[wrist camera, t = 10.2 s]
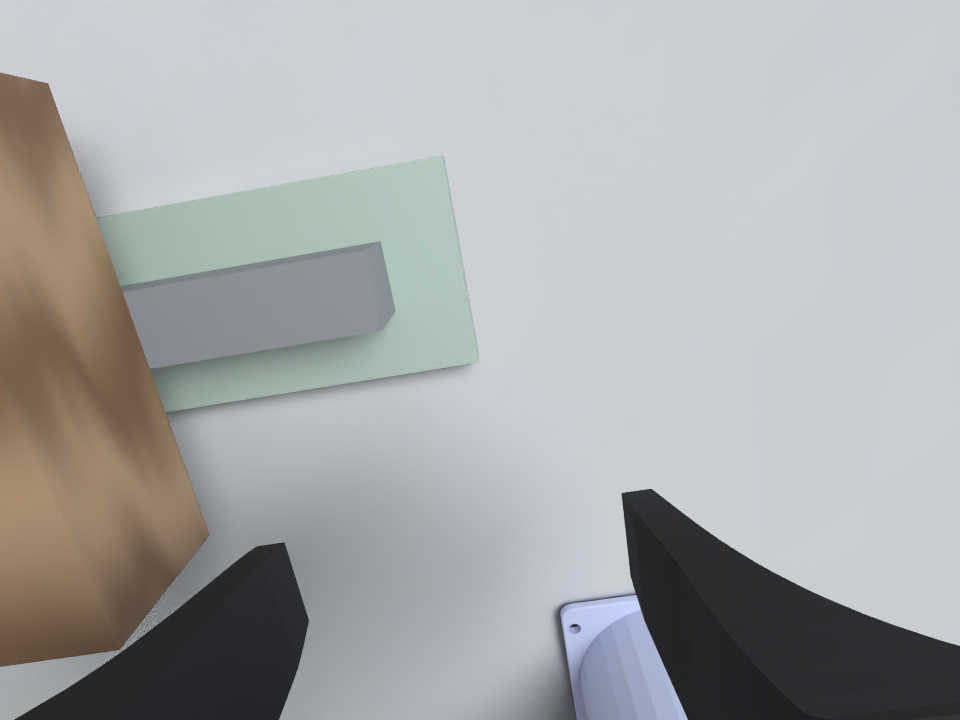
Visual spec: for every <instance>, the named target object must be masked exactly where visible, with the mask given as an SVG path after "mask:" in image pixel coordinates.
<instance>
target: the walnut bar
mask: <svg viewBox="0 0 960 720" xmlns="http://www.w3.org/2000/svg"><path fill="white" fill-rule="evenodd" d="M208 536H209V533H208V530H207V527H206V525H205V522H204V519H203V516H202V513H201V511H200V508H199V505H198V502H197V499H196V497H195V494H194V491H193V488H192V485H191V483H190V480H189V477H188V474H187V471H186V469H185V466H184V463H183V460H182V457H181V455H180V452H179V449H178V446H177V443H176V441H175V438H174V435H173V432H172V429H171V427H170V424H169V421H168V418H167V415H166V413H165V410H164V407H163V404H162V401H161V399H160V396H159V393H158V390H157V387H156V385H155V382H154V379H153V376H152V373H151V371H150V368H149V365H148V362H147V359H146V357H145V354H144V351H143V348H142V345H141V343H140V340H139V337H138V334H137V331H136V329H135V326H134V323H133V320H132V317H131V315H130V312H129V309H128V306H127V303H126V301H125V298H124V295H123V292H122V289H121V286H120V284H119V281H118V278H117V275H116V272H115V270H114V267H113V264H112V261H111V258H110V256H109V253H108V250H107V247H106V244H105V242H104V239H103V236H102V233H101V230H100V228H99V225H98V222H97V219H96V216H95V214H94V211H93V208H92V205H91V202H90V200H89V197H88V194H87V191H86V188H85V186H84V183H83V180H82V177H81V174H80V172H79V169H78V166H77V163H76V160H75V158H74V155H73V152H72V149H71V146H70V144H69V141H68V138H67V135H66V132H65V130H64V127H63V124H62V121H61V118H60V116H59V113H58V110H57V107H56V104H55V102H54V99H53V96H52V93H51V90H50V88H49V85H48V83H44V82H39V81H35V80H30V79H26V78H21V77H17V76H13V75H8V74H4V73H0V667H2V666H9V665H16V664H23V663H30V662H37V661H44V660H51V659H59V658H66V657H73V656H80V655H87V654H94V653H101V652H108V651H115V650H120V649H121V647H122V646H123V645H124V644H125V642H126V641H127V640H128V638H129V637H130V636H131V635H132V633H133V632H134V631H135V629H136V628H137V627H138V626H139V624H140V623H141V622H142V620H143V619H144V618H145V617H146V615H147V614H148V613H149V611H150V610H151V609H152V608H153V606H154V605H155V604H156V602H157V601H158V600H159V599H160V597H161V596H162V595H163V593H164V592H165V591H166V590H167V588H168V587H169V586H170V585H171V583H172V582H173V581H174V579H175V578H176V577H177V576H178V574H179V573H180V572H181V570H182V569H183V568H184V567H185V565H186V564H187V563H188V561H189V560H190V559H191V558H192V556H193V555H194V554H195V552H196V551H197V550H198V549H199V547H200V546H201V545H202V543H203V542H204V541H205V540H206V538H207V537H208Z"/></svg>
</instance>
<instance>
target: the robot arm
mask: <svg viewBox="0 0 960 720" xmlns="http://www.w3.org/2000/svg"><path fill="white" fill-rule="evenodd" d="M622 501H623V510H624V519H625V528H626V538H627V547H628V556H629V565H630V574H631V579H632V582H633V585H634V589H635V592H636V595H632V596H625V597H617V598H610V599H603V600H595V601H588V602H580V603H573V604H568V605H566V606H564V607H563V608H562V610H561V614H560V616H561V622H562V628H563V635H564V641H565V648H566V654H567V660H568V667H569V673H570V680H571V686H572V693H573V699H574V705H575V712H576V718H577V720H960V646H958V645H955V644H951V643H947V642H944V641H940V640H937V639H934V638H931V637H928V636H925V635H922V634H919V633H916V632H913V631H910V630H907V629H904V628H901V627H898V626H895V625H892V624H889V623H886V622H884V621H881V620H878V619H876V618H873V617H870V616H868V615H865V614H862V613H860V612H858V611H855V610H853V609H850V608H848V607H846V606H843V605H841V604H838V603H836V602H834V601H831V600H829V599H826V598H824V597H822V596H820V595H818V594H815V593H813V592H811V591H809V590H807V589H805V588H803V587H801V586H799V585H797V584H795V583H793V582H791V581H789V580H787V579H785V578H783V577H781V576H779V575H777V574H775V573H773V572H772V571H770V570H768V569H766V568H764V567H763V566H761V565H759V564H757V563H756V562H754V561H752V560H751V559H749V558H747V557H746V556H744V555H743V554H741V553H739V552H738V551H736V550H734V549H733V548H731V547H730V546H728V545H727V544H725V543H724V542H722V541H721V540H719V539H718V538H716V537H715V536H713V535H712V534H710V533H709V532H708V531H706V530H705V529H703V528H702V527H701V526H699V525H698V524H697V523H695V522H694V521H692V520H691V519H690V518H689V517H687V516H686V515H685V514H683V513H682V512H681V511H679V510H678V509H677V508H676V507H674V506H673V505H672V504H670V503H669V502H668V501H667V500H665V499H664V498H663V497H661V496H660V495H659V494H657V493H656V492H655V491H653V490H652V489H647V490H640V491H633V492H626V493H622ZM308 622H309V620H308V616H307V613H306V610H305V607H304V604H303V600H302V597H301V594H300V591H299V588H298V584H297V581H296V578H295V575H294V572H293V568H292V565H291V562H290V559H289V556H288V552H287V549H286V546H285V543H278V544H271V545H264V546H257V547H256V548H254V549H253V550H251V551H250V552H248V553H247V554H245V555H244V556H243V557H241V558H240V559H239V560H238V561H236V562H235V563H234V564H233V565H231V566H230V567H229V568H228V569H226V570H225V571H224V572H223V573H221V574H220V575H219V576H218V577H217V578H215V579H214V580H213V581H212V582H210V583H209V584H208V585H207V586H206V587H204V588H203V589H202V590H201V591H199V592H198V593H197V594H196V595H195V596H193V597H192V598H191V599H190V600H188V601H187V602H186V603H185V604H184V605H182V606H181V607H180V608H179V609H177V610H176V611H175V612H174V613H172V614H171V615H170V616H168V617H167V618H166V619H164V620H163V621H162V622H161V623H159V624H158V625H157V626H155V627H154V628H153V629H151V630H150V631H149V632H148V633H146V634H145V635H144V636H142V637H141V638H140V639H138V640H137V641H136V642H135V643H133V644H132V645H131V646H129V647H128V648H126V649H125V650H124V651H122V652H121V653H119V654H118V655H117V656H115V657H114V658H112V659H111V660H109V661H108V662H107V663H105V664H104V665H102V666H101V667H99V668H98V669H96V670H95V671H93V672H92V673H90V674H89V675H87V676H86V677H84V678H83V679H81V680H79V681H78V682H76V683H75V684H73V685H72V686H70V687H69V688H67V689H65V690H64V691H62V692H60V693H59V694H57V695H55V696H54V697H52V698H50V699H49V700H47V701H45V702H44V703H42V704H40V705H38V706H37V707H35V708H33V709H32V710H30V711H28V712H27V713H25V714H23V715H22V716H20V717H18V718H16V719H15V720H279V718H280V715H281V713H282V710H283V708H284V705H285V702H286V699H287V697H288V694H289V691H290V689H291V686H292V683H293V680H294V678H295V675H296V672H297V669H298V666H299V662H300V658H301V654H302V650H303V646H304V641H305V636H306V632H307V627H308ZM572 624H578V626H576V627H570V625H572Z"/></svg>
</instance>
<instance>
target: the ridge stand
mask: <svg viewBox="0 0 960 720" xmlns="http://www.w3.org/2000/svg"><path fill="white" fill-rule="evenodd" d="M96 219H97V222H98V225H99V228H100V230H101V233H102V236H103V239H104V242H105V244H106V247H107V250H108V253H109V256H110V258H111V261H112V264H113V267H114V270H115V272H116V275H117V278H118V281H119V284H120V286H121V289H122V292H123V295H124V298H125V301H126V303H127V306H128V309H129V312H130V315H131V317H132V320H133V323H134V326H135V329H136V331H137V334H138V337H139V340H140V343H141V345H142V348H143V351H144V354H145V357H146V359H147V362H148V365H149V368H150V371H151V373H152V376H153V379H154V382H155V385H156V387H157V390H158V393H159V396H160V399H161V401H162V404H163V407H164V410H165V412H171V411H177V410H184V409H190V408H196V407H203V406H209V405H215V404H221V403H228V402H234V401H240V400H246V399H253V398H259V397H265V396H271V395H278V394H284V393H290V392H296V391H303V390H309V389H315V388H321V387H328V386H334V385H340V384H346V383H353V382H359V381H365V380H372V379H378V378H384V377H390V376H397V375H403V374H409V373H415V372H422V371H428V370H434V369H440V368H447V367H453V366H459V365H465V364H472V363H478V360H479V352H478V346H477V340H476V335H475V329H474V323H473V318H472V312H471V306H470V301H469V295H468V290H467V284H466V278H465V273H464V267H463V261H462V256H461V250H460V244H459V239H458V233H457V227H456V222H455V216H454V210H453V205H452V199H451V194H450V188H449V182H448V177H447V171H446V165H445V160H444V157H443V156H437V157H431V158H426V159H420V160H415V161H409V162H404V163H398V164H393V165H387V166H381V167H376V168H370V169H365V170H359V171H354V172H348V173H343V174H337V175H332V176H326V177H320V178H315V179H309V180H304V181H298V182H293V183H287V184H282V185H276V186H271V187H265V188H260V189H254V190H248V191H243V192H237V193H232V194H226V195H221V196H215V197H210V198H204V199H199V200H193V201H187V202H182V203H176V204H171V205H165V206H160V207H154V208H149V209H143V210H138V211H132V212H126V213H121V214H115V215H110V216H104V217H99V218H96Z"/></svg>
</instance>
